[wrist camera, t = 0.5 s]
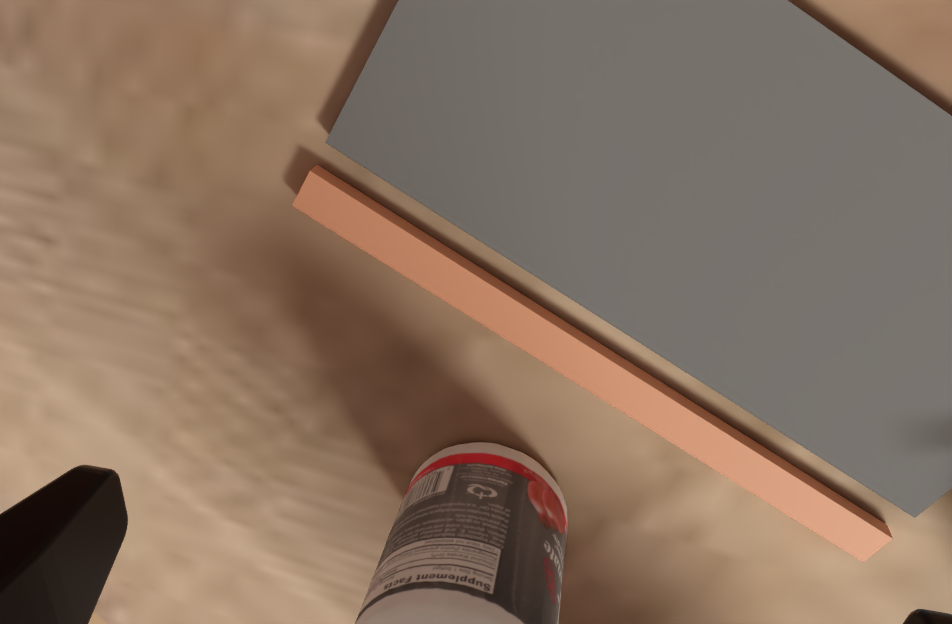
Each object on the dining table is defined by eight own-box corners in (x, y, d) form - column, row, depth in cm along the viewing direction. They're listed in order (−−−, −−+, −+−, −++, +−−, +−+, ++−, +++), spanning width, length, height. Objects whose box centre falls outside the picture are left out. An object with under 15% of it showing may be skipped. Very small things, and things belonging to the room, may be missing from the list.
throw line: (858, 548, 25) (862, 562, 24) (299, 198, 23) (291, 205, 22) (886, 524, 24) (892, 538, 24) (317, 164, 22) (309, 170, 22)
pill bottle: (581, 562, 27) (559, 867, 18) (429, 568, 28) (342, 855, 20) (555, 429, 25) (516, 703, 16) (392, 441, 26) (275, 702, 18)
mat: (909, 506, 24) (914, 517, 23) (331, 137, 22) (325, 142, 21) (1185, 281, 20) (1198, 290, 19) (504, -199, 18) (501, -202, 17)
